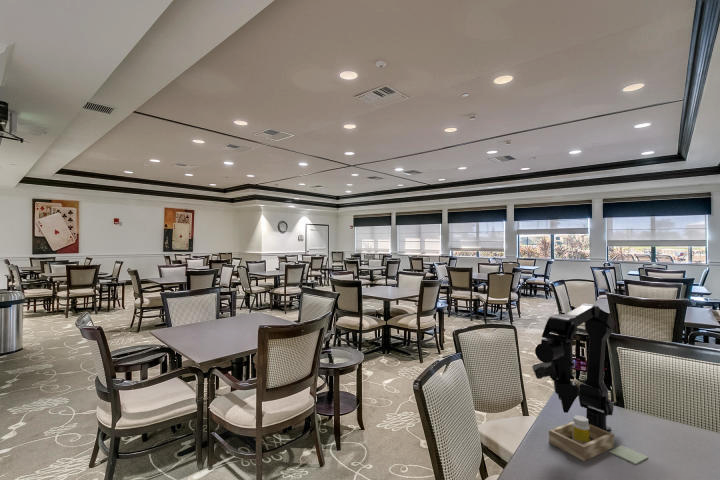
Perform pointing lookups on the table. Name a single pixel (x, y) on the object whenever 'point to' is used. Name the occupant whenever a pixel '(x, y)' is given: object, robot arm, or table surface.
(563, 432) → the wooden box
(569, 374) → the robot arm
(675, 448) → the table surface
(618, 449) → the sage mat
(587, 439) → the supplement bottle
